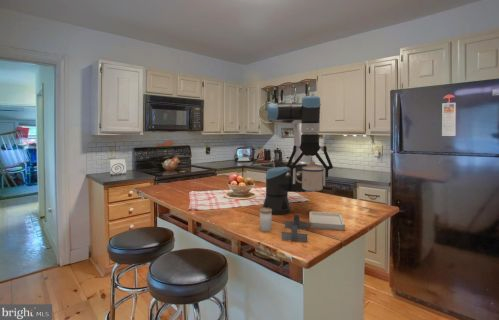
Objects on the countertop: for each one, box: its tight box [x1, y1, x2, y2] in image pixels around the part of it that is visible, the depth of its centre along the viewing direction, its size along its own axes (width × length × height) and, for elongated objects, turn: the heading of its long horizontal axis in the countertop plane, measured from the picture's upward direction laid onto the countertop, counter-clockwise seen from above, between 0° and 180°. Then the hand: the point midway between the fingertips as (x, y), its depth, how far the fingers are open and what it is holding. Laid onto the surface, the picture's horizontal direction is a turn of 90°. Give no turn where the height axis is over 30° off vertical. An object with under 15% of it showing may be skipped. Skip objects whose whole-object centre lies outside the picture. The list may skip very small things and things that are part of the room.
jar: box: [259, 207, 273, 232], centre depth 121 cm, size 5×5×9 cm
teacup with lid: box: [295, 161, 325, 192], centre depth 119 cm, size 12×9×12 cm
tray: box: [308, 210, 346, 232], centre depth 130 cm, size 15×18×2 cm
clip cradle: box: [280, 214, 309, 243], centre depth 115 cm, size 10×15×6 cm, turn 167°
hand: (308, 184), depth 120 cm, fingers closed on teacup with lid, 12 cm apart
